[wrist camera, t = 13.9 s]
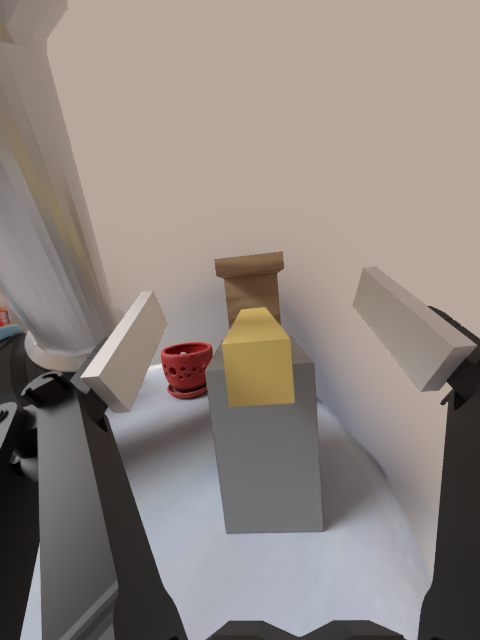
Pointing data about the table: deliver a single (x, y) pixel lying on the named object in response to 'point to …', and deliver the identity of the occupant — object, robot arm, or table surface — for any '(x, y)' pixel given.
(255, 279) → the shelf stand
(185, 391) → the plant pot
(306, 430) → the gray rectangular block
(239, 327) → the number bar
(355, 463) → the table surface
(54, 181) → the robot arm
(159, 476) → the table surface
